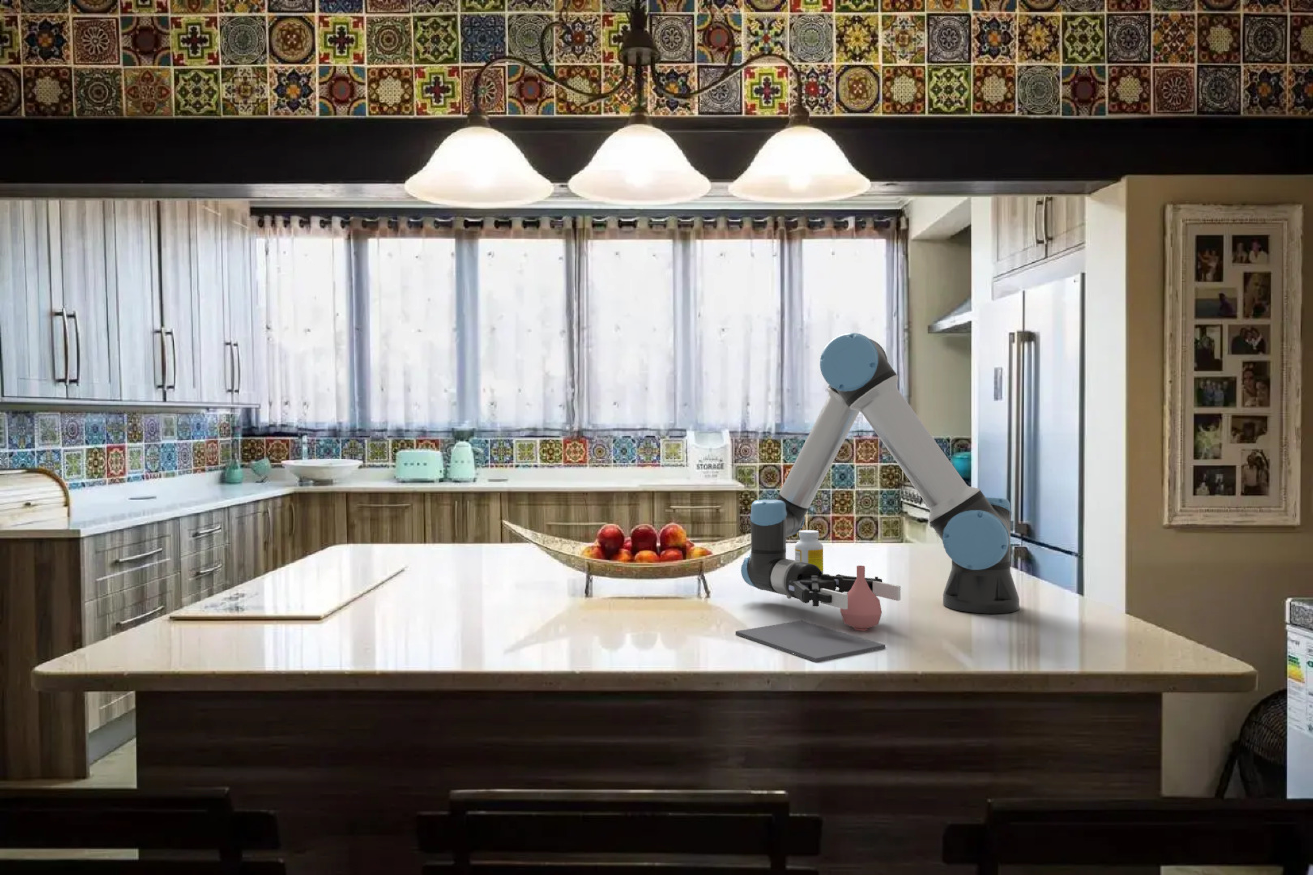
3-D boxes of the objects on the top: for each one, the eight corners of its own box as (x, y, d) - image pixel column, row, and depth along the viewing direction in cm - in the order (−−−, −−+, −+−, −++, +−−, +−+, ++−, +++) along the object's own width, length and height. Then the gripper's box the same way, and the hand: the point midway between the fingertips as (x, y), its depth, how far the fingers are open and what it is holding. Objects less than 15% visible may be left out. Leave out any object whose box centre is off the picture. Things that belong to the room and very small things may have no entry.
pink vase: (875, 636, 164) (875, 571, 164) (834, 631, 168) (834, 567, 167) (886, 627, 171) (886, 564, 170) (847, 622, 174) (847, 561, 174)
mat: (801, 623, 174) (801, 620, 174) (885, 648, 155) (885, 644, 155) (735, 634, 166) (735, 631, 166) (815, 662, 147) (815, 658, 147)
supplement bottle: (827, 583, 215) (827, 530, 214) (817, 588, 209) (816, 533, 209) (801, 581, 218) (801, 528, 218) (790, 585, 213) (790, 531, 212)
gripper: (842, 591, 191) (919, 609, 173) (750, 605, 178) (822, 626, 160) (842, 556, 191) (919, 570, 173) (749, 567, 178) (822, 584, 160)
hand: (873, 597), depth 166 cm, fingers open, 13 cm apart
